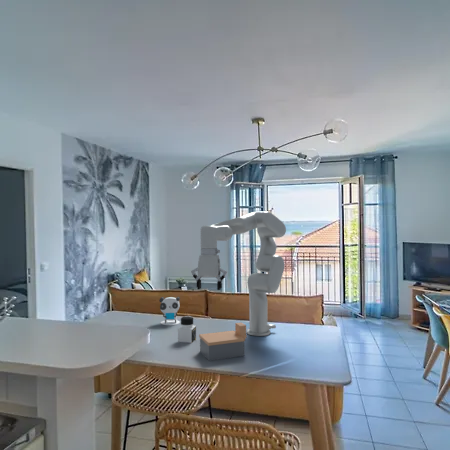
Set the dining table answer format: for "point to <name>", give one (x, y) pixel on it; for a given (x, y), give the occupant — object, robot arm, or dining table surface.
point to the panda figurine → (170, 310)
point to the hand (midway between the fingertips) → (209, 289)
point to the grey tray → (222, 350)
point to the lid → (225, 336)
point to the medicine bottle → (187, 330)
